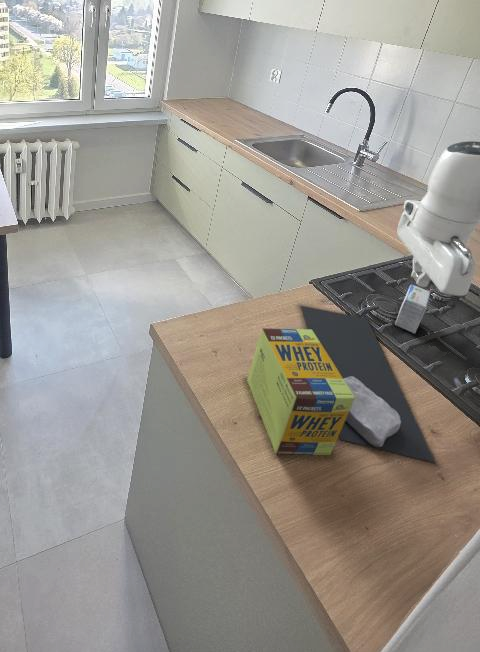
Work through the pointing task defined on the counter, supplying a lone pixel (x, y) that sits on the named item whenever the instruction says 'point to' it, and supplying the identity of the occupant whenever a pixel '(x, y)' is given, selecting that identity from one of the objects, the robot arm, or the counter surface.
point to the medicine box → (413, 308)
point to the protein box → (298, 392)
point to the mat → (367, 376)
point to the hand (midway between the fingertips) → (418, 281)
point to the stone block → (371, 414)
